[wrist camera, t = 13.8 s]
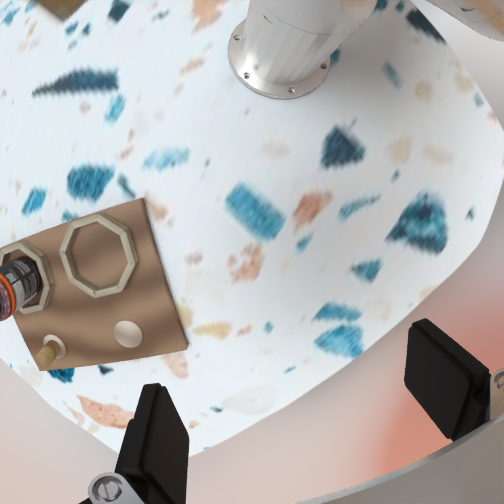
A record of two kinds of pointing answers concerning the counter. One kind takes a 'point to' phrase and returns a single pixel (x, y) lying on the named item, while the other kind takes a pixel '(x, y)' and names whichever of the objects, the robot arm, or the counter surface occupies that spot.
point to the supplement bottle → (18, 285)
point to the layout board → (97, 292)
